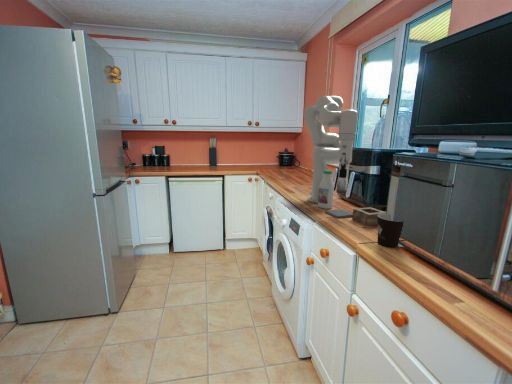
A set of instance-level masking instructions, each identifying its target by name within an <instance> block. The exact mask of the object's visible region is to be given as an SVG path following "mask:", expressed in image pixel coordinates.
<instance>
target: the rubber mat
mask: <svg viewBox="0 0 512 384" xmlns="http://www.w3.org/2000/svg"><path fill="white" fill-rule="evenodd" d="M324 212H325V213H326V214H328V215H330V216H331V217H334V218H336V219H344V218H351V217H352V218H353V212H350V211H347V210H344V209H343V208H341V209H340V208H339V209H329V210H327V209H326V210H324Z"/></svg>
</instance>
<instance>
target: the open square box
mask: <svg viewBox="0 0 512 384" xmlns="http://www.w3.org/2000/svg"><path fill="white" fill-rule="evenodd" d="M352 213H353V217H352V218H351V219H352V220H353V221H356V222H358V223H361V224H362V225H365V226H367V227H370V226H372V227H373V226H378V218H377V216H378V215H379V214H386V213H387V212H386V211H383V210H381V209H378V208H374V207H370V206H369V207H359V208H353V210H352Z"/></svg>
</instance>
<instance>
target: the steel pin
mask: <svg viewBox="0 0 512 384" xmlns="http://www.w3.org/2000/svg"><path fill="white" fill-rule="evenodd" d="M340 164H341V163H340ZM340 164H338V165H339V166H338V172H339V171H340ZM346 169H347V175H346V178H339V175H338V177H337V178H338V179H337V188H336V189H337V190H338V191H342V192H343V191H345V192H346V191H347V190H348V184H349V174H350V173H349V172H350V171H349V170H350V163H347V168H346Z"/></svg>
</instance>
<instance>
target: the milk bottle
mask: <svg viewBox="0 0 512 384" xmlns="http://www.w3.org/2000/svg"><path fill="white" fill-rule="evenodd" d="M332 176H333V171H332V170H330V169H329V170H324V171H323V178H322V180H321V182H320V185H319V195H318V203H317V207H318V208H321V209H324V210H325V209H326V210H327V209H329V210H331V209H333V206H334V204H333V202H334V195H335V194H334V192H335V189H334V188H335V184H334V181H333V179H332Z"/></svg>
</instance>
